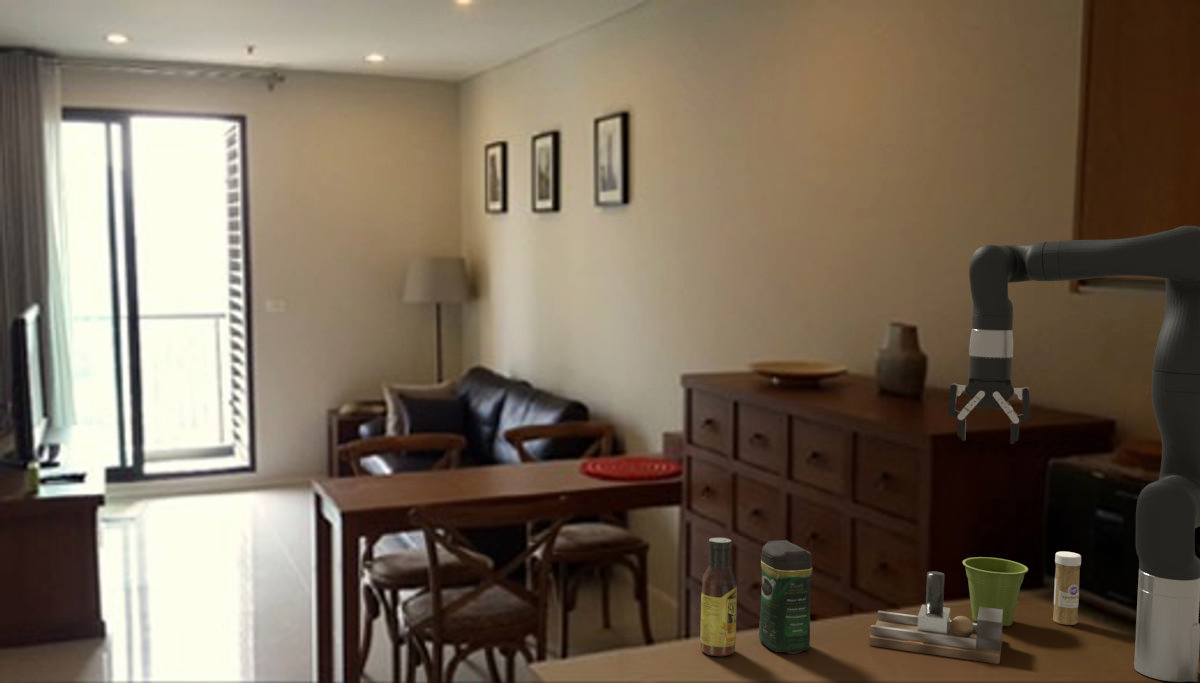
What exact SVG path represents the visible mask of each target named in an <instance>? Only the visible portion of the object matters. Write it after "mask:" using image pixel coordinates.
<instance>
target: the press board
mask: <svg viewBox="0 0 1200 683" xmlns="http://www.w3.org/2000/svg"><path fill="white" fill-rule="evenodd" d="M952 620H953V619H950V624H951V621H952ZM1002 620H1003V610H1002V609H994V608H987V607H979V612H978V618H977V621H976V622H972V623H973V627H974V630H973V633H972V635H971V636H970V637H968V638H964V637H957V636H954V635H953V633H952V632H951V629H949V633H948V635H942V634H935V633H928V632H920V631H918V615H915V614H907V613H899V612H892V611H891V612H890V611H884V610H878V611H877V620H876V623H875V624H871V625H870V635H869V643H868V645H869V646H872V647H879V648H883V649H884V648H886V649H893V650H898V651H908V652H914V653H919V654H927V655H933V656H942V657H948V658H954V659H962V660H969V661H974V662H975V661H976V662H982V663H990V664H996V665H1000V662H1001V653H1002V643H1003V626H1002Z"/></svg>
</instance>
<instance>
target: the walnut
mask: <svg viewBox="0 0 1200 683" xmlns="http://www.w3.org/2000/svg"><path fill="white" fill-rule="evenodd" d="M951 620H952V621H951V624H950V629H951V632H952V633H953V635H954V636H957V637H964V638H968V637H970V636H971V635H972V633H973V630H974V627H973V623H974V622H972V620H971V619H970V618H968V617H967V616H965V615H958V616H955V617H954V618H952V619H951Z"/></svg>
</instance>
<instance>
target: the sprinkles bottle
mask: <svg viewBox="0 0 1200 683" xmlns="http://www.w3.org/2000/svg"><path fill="white" fill-rule="evenodd" d="M1054 557H1055V559H1054V562H1055V572H1054V573H1055V575H1054V589H1053V590H1054V591H1053V615H1052V616H1053V617H1052V620H1053V621H1054V623H1056V624H1059V625H1066V626H1073V625H1077V624H1078V623H1079V620H1078V611H1079V610H1078V609H1079V599H1080V568H1081V564H1082V555H1081V554H1080V553H1076V552H1071V551H1066V550H1065V551H1061V550H1060V551H1057V552H1056V553H1055V556H1054Z"/></svg>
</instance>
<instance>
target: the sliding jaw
mask: <svg viewBox="0 0 1200 683" xmlns="http://www.w3.org/2000/svg"><path fill="white" fill-rule="evenodd" d="M944 591H945V573H943V572H940V571H927V573H926V597H925V604H921V607H920V609H919V612H918V615H917V616H918V631H920V632H928V633H935V634H942V635H948V633H949V629H950V620H951V607H945V606H944V597H945V596H944V595H945V593H944Z"/></svg>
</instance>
